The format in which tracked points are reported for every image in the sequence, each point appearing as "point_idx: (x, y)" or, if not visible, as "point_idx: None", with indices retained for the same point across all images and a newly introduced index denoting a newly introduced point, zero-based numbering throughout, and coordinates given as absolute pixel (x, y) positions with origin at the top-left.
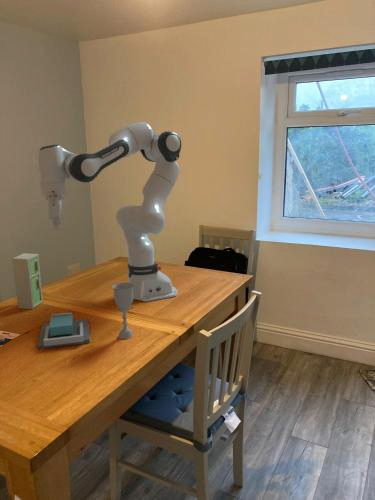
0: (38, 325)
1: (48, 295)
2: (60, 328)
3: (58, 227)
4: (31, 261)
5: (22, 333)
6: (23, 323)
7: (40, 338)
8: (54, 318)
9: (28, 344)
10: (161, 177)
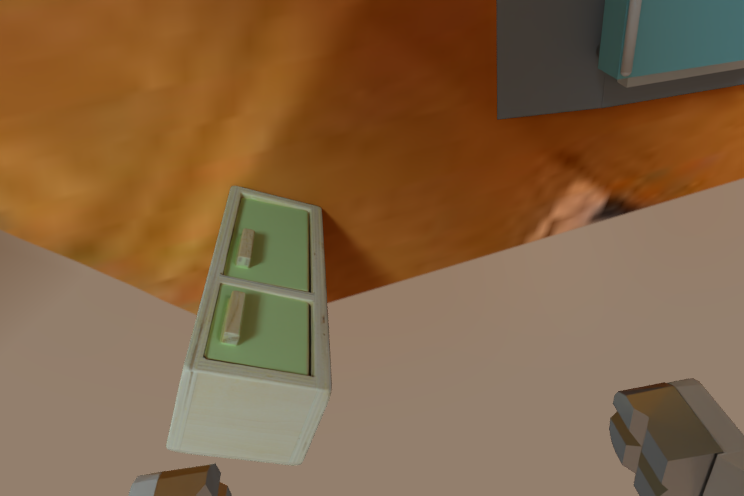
0: (512, 134)
1: (130, 181)
2: None
3: (715, 401)
4: (280, 362)
5: (571, 175)
6: (474, 199)
7: (688, 89)
8: (657, 55)
9: (680, 127)
10: None
